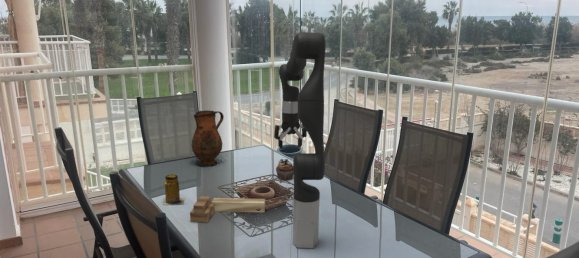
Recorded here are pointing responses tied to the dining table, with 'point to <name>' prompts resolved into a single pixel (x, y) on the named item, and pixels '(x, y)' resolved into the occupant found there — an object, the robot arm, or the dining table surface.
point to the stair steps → (202, 210)
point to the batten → (238, 205)
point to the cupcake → (284, 170)
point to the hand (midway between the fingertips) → (290, 147)
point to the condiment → (172, 190)
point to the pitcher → (207, 138)
